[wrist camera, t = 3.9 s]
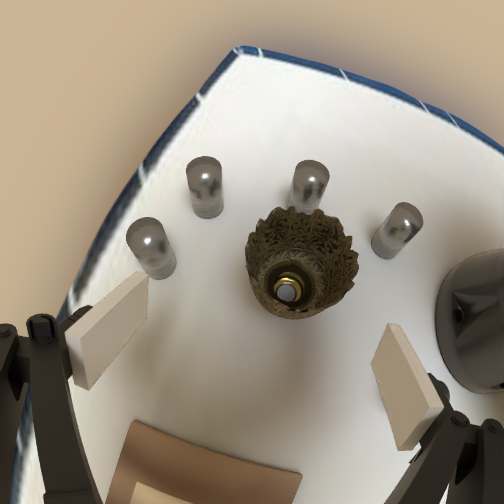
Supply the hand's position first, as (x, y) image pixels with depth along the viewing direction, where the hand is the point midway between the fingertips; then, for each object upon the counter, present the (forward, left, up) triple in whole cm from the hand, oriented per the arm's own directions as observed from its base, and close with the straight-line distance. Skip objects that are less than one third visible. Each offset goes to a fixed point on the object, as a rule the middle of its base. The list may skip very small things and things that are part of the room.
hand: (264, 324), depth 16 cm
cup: (-5, -2, -10) cm, 11 cm away
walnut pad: (+16, +11, -9) cm, 21 cm away
